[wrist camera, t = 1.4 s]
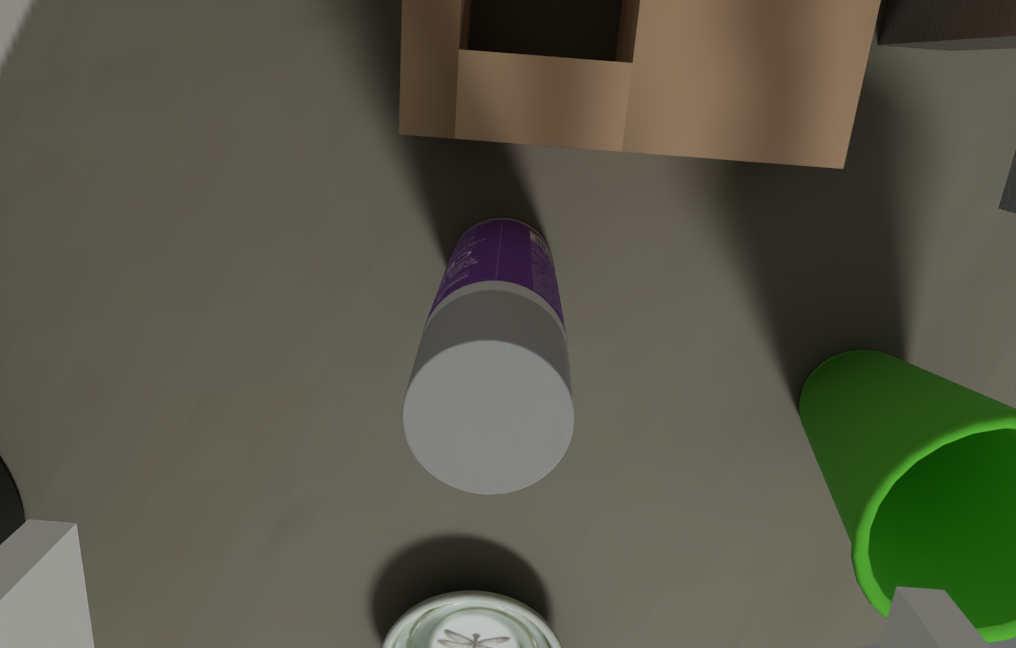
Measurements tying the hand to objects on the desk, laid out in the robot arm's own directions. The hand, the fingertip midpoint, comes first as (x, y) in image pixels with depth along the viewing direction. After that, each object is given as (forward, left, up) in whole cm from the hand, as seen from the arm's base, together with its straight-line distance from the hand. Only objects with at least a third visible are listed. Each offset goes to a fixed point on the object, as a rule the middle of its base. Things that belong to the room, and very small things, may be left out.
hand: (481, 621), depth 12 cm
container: (0, 0, -22) cm, 22 cm away
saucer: (0, -21, -23) cm, 31 cm away
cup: (+17, -5, -22) cm, 28 cm away
